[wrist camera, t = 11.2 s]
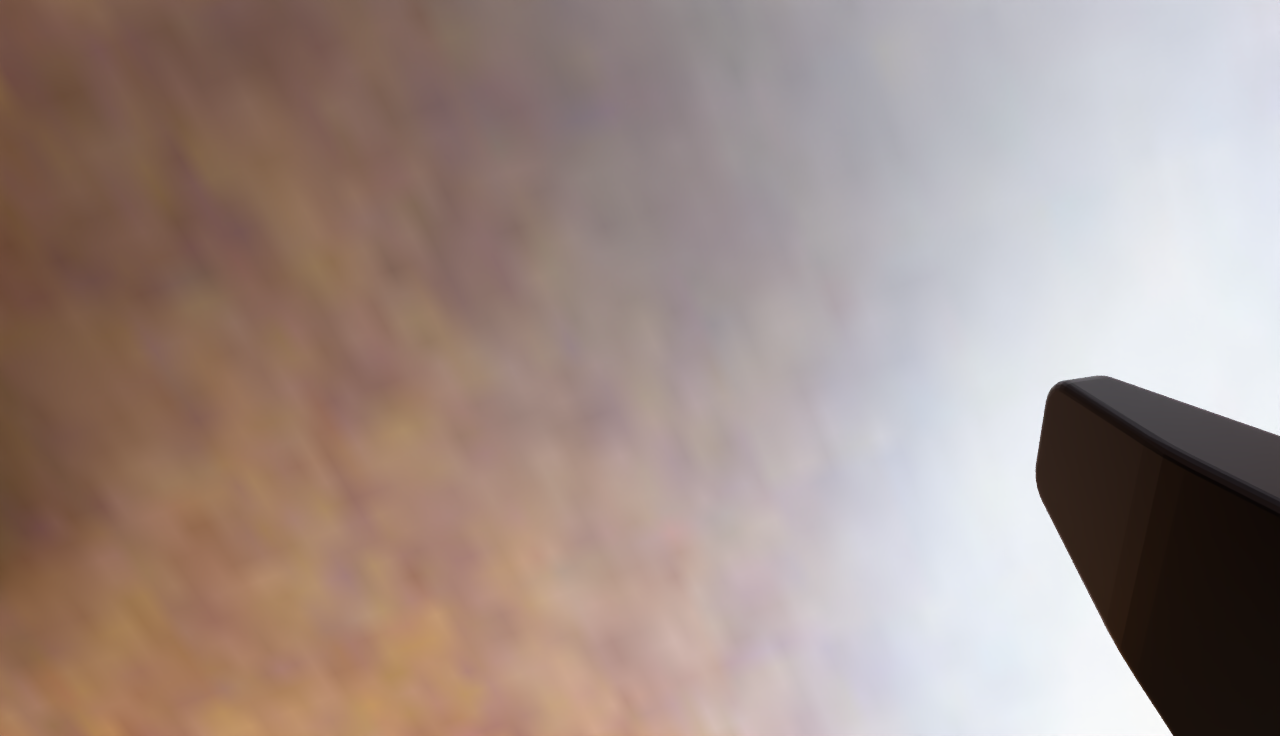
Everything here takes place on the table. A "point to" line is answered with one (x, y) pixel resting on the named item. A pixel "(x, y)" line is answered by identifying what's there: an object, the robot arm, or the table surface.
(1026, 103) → the table surface
